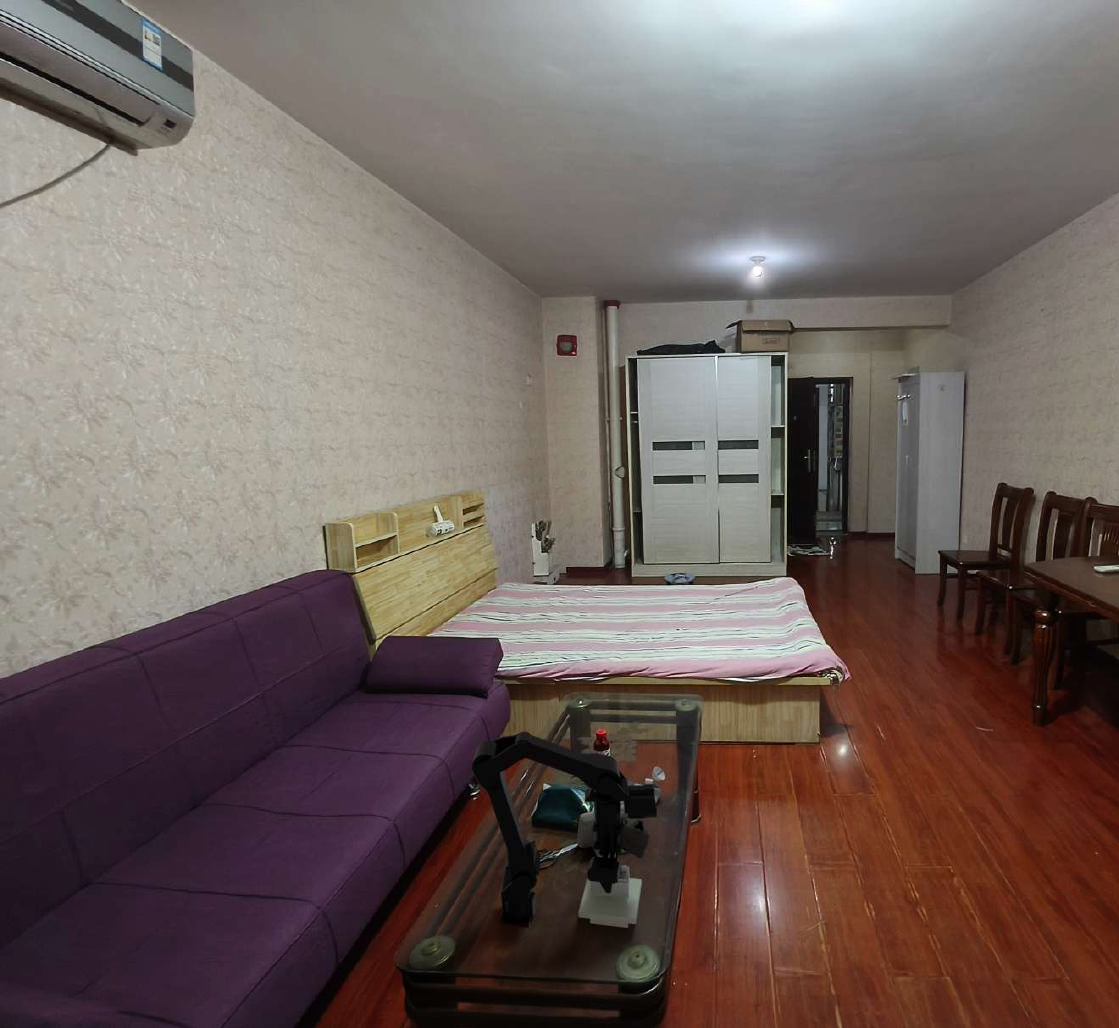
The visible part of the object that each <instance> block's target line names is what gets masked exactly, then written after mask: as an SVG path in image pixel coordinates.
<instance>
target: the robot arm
mask: <svg viewBox="0 0 1119 1028" xmlns="http://www.w3.org/2000/svg"><path fill="white" fill-rule="evenodd" d="M525 759H526V760H530V761H531V762H535V763H538V764H540V765H543V766H546V767H549V768H552V769H553V770H557V771H560V772H562V773H566V774H568V775H570V776H574V777H576V778H578V779H579V780H580V781H581V782H582V783H583V784H585V785H586V786H587V787H588V788H587V789H586V790H584V801H585V803H593V811H594V824H593V832H595V841H594V849H595V850H600V851H599V856H603V857H597V856H596V855H595V856H593V857H592V858H591V859H590V860H589V863H588V867H587V870H586V871H587V872H586V875H587V878H588V880H589V881H593V882H600V884H601V886H602V887H603V889H604V891H605V892H606V893H611V889H612V884H616V883H617V882H618V878H619V873H620V869H621V866H620V865H621V864H620V862H619V861H618V859H619V855H621V854H623V853H622V849H623V850H624V851H626V852H625V853H629V854H631V855H633V856H635V857H636V858H638V859H643V858H644V855H645V854H646V851H647V848H648V845H649V838H650V835H649V830H646V824H645V821H644V820H642V819H657V817H658V813H657V810H658V809H657V802H655V795H654V786H653V784H640V785H629V786H628V781H629V780H628V778H627V777H626V776H625V774H623V771H621V769H620V767H619V764H618V761H617V760H616V759H615V757H613V756H611V755H608V754H607V755H606V754H601V753H597V752H596V753H595V752H594V753H582V752H578V751H576V750H573V749H570V748H568V747H566V746H565V747H564V746H562V745H560V744H557V743H554V742H551V741H549V740H546V739H543V738H540V737H538V736H535V735H533V734H532V733H530V732H529V731H521V732H519V733H516V734H513V735H506V736H501V737H498V738H495V739H494V740H484V741H483V742H481V743H479V744H478V746H477V747H476V751H475V754H474V757H473V761H472V763H471V771H472V774H473V776H474V778H475V779H476V781H477V782H478V784H479V786H480V787H481V788H482V789H483V790H484V791H486V793H487V796H488V798H489V801H490V804H491V807H492V810H493V813H494V815H495V819H496V822H497V825H498V828H499V830H500V833H501V836H502V839H503V842H504V845H505V848H506V850H507V851H506V852H507V863H508V864H507V865H506V866H505V867H504V871H503V872H504V873H503V879H502V884H501V890H500V896H501V909H502V914H501V917H500V919H499V922H500V923H502V924H509V925H518V926H523V927H524V926H525V927H529V926H530V924H531V920H532V918H534V916H535V913H536V910H537V902H536V892H534V891H533V889H534V888H535V887H536V885H537V883H538V876H539V875H540V867H541V866H540V865H541V858H542V855H541V853H540V851H539V850H538V848H537V841H536V840H532V841H530V840H528V839H526V837H525V834H524V831H523V828H522V825H521V823H520V820H519V817H518V813H517V810H516V808H515V805H514V804H515V803H514V802H513V799H512V796H511V793H510V790H509V787H508V784H507V782H506V771H507V770H509V769H510V768H511V767H512V766H514V765H515V764H517V763H518V762H520V761H522V760H525ZM621 801H623V802H624V814H627V813H628V818H630V819H638V820H636V821H635V822H634V823H633V824H631V823H630V825H628V821H627V820H626V819H625V818H623V816H621ZM618 853H620V854H618Z"/></svg>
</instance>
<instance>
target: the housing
mask: <svg viewBox="0 0 1119 1028" xmlns="http://www.w3.org/2000/svg"><path fill="white" fill-rule="evenodd" d="M620 866H621V869H620V873H619V878H618V882H617V883H616V884H612V889H611V893H606V892H605V891H604V889H603V887H602V886H601V884H600V882H593V881H591V895H595V896H611V897H626V898H629V886H630V878H631V875H630V866H628V865H625V864H624V865H623V864H620Z"/></svg>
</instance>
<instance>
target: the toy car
mask: <svg viewBox="0 0 1119 1028" xmlns="http://www.w3.org/2000/svg"><path fill="white" fill-rule="evenodd" d="M651 775H652V778H645V782H644V785H646V784H653V786H654V795H655V802H656V803H657V802H658V800H659V798H660V796H661V794H662V789H661V788H660V786H659V784H658V783H656V781H657V782H658V781H664V780H665V778H666V776H665V772H664V770H663V769H662V768H660V767H659V766H655V767H654V768H653V771H652V774H651ZM627 781H628V786H629V785H641V784H639V783H635V781H630V780H627ZM621 805H624V802H623V801H621Z"/></svg>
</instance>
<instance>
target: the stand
mask: <svg viewBox="0 0 1119 1028" xmlns="http://www.w3.org/2000/svg"><path fill="white" fill-rule="evenodd" d="M642 882H643V880H642V879H641V878H632V877H630V886H629V898H626V897H611V896H595V895H591V881H589V880H588V878H587V879H586V883H585V887H584V890H583V894H582V898H581V901H580V904H579V909H578V918H582V919H583V918H584V919H590V924H595V925H601V926H602V925H603V926H611V927H617V928H626V929H628V928H629V924H632V925H637V920H638V913H639V912H638V911H639V905H640V898H641V894H642V893H641V892H642V886H643V885H642Z"/></svg>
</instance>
